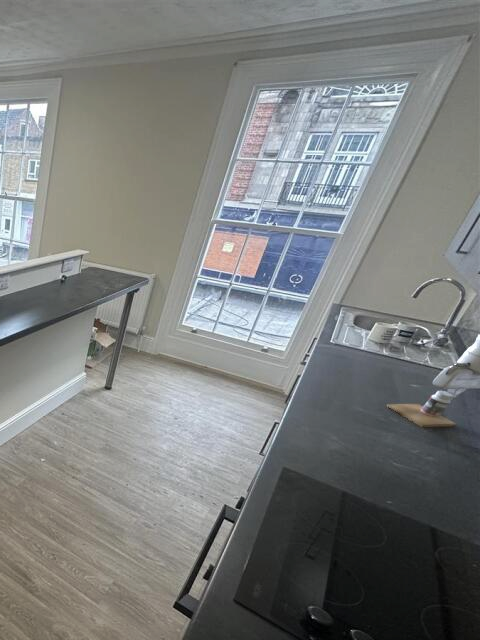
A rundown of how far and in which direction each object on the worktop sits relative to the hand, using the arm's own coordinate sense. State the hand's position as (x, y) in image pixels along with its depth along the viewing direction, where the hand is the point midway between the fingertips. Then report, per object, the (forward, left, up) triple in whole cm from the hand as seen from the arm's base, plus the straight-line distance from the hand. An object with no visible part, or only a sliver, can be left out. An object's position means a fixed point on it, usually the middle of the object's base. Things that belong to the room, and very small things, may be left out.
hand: (449, 397), depth 138 cm
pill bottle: (0, +3, -7) cm, 7 cm away
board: (0, +7, -8) cm, 10 cm away
